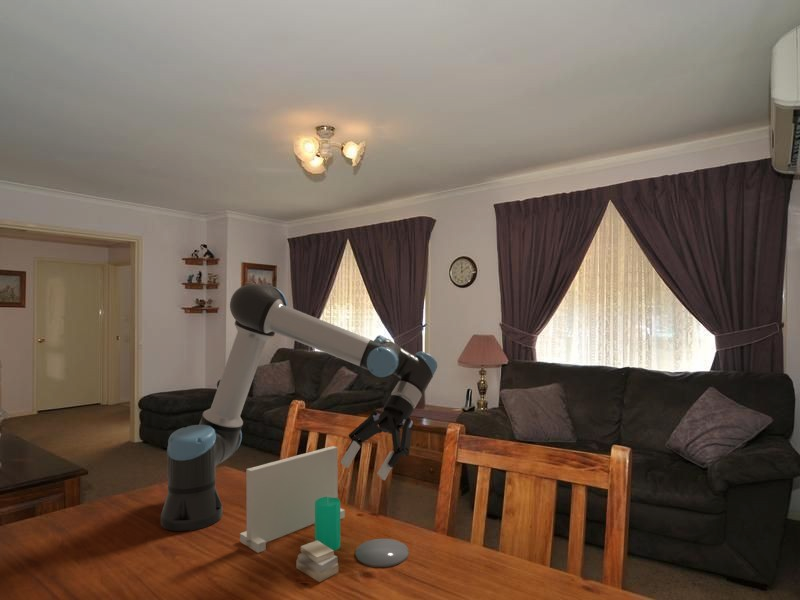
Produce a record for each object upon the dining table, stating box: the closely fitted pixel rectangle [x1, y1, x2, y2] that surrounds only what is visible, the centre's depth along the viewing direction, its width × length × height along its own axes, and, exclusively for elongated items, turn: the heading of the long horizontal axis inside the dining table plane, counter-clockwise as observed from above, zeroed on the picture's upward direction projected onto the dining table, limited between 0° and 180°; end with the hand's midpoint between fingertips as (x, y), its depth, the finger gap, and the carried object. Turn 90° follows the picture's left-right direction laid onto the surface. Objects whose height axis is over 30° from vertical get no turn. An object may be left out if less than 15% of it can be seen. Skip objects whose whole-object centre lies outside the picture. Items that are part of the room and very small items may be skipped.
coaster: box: [355, 538, 409, 568], centre depth 116 cm, size 12×12×1 cm
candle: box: [314, 495, 341, 551], centre depth 120 cm, size 6×6×12 cm
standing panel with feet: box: [239, 445, 346, 554], centre depth 129 cm, size 8×26×18 cm, turn 137°
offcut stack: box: [295, 540, 339, 583], centre depth 109 cm, size 8×5×4 cm, turn 47°
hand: (361, 471), depth 128 cm, fingers open, 13 cm apart
